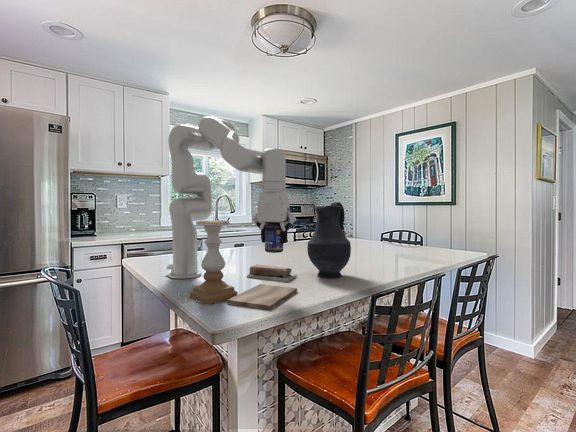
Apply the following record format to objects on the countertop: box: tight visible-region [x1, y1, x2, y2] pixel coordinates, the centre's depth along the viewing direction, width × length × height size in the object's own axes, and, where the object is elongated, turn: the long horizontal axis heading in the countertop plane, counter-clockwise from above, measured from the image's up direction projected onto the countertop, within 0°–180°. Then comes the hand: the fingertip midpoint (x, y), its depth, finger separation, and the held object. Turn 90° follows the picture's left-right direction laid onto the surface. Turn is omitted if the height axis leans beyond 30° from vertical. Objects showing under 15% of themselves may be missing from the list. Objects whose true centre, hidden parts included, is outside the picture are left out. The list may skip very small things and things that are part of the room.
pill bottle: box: [264, 222, 284, 254], centre depth 105 cm, size 6×6×11 cm
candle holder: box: [189, 220, 238, 306], centre depth 100 cm, size 11×11×24 cm
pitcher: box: [306, 201, 352, 279], centre depth 131 cm, size 17×21×30 cm
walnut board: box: [226, 283, 298, 311], centre depth 100 cm, size 14×20×1 cm
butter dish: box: [246, 264, 298, 283], centre depth 128 cm, size 18×5×10 cm
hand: (274, 242), depth 105 cm, fingers closed on pill bottle, 6 cm apart
